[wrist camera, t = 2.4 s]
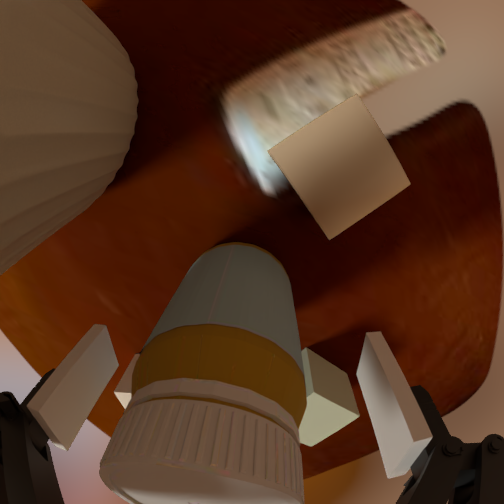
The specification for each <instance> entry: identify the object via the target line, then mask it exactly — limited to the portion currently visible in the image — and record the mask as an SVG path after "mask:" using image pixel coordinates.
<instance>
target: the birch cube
mask: <svg viewBox="0 0 504 504" xmlns="http://www.w3.org/2000/svg"><path fill="white" fill-rule="evenodd" d="M267 152H268V153H269V155H270V156H271V157H272V159H273V160H274V162H275V163H276V164H277V166H278V167H279V168H280V170H281V171H282V173H283V174H284V175H285V177H286V178H287V180H288V181H289V182H290V184H291V185H292V187H293V188H294V190H295V191H296V192H297V194H298V195H299V197H300V198H301V200H302V201H303V203H304V204H305V206H306V207H307V209H308V210H309V212H310V213H311V215H312V216H313V218H314V219H315V220H316V222H317V223H318V225H319V226H320V227H321V229H322V230H323V232H324V233H325V235H326V236H327V238H328V239H329V240H331V239H332V238H334V237H335V236H337V235H338V234H340V233H341V232H342V231H344V230H345V229H347V228H348V227H350V226H351V225H353V224H354V223H356V222H357V221H359V220H360V219H362V218H363V217H365V216H366V215H368V214H369V213H370V212H372V211H373V210H375V209H376V208H378V207H379V206H381V205H382V204H383V203H385V202H386V201H388V200H389V199H391V198H392V197H394V196H395V195H396V194H398V193H399V192H401V191H402V190H403V189H405V188H406V187H408V186H409V185H411V183H410V181H409V179H408V178H407V176H406V174H405V172H404V170H403V168H402V166H401V164H400V162H399V161H398V159H397V157H396V155H395V153H394V152H393V150H392V148H391V146H390V145H389V143H388V141H387V139H386V138H385V136H384V134H383V133H382V131H381V130H380V128H379V127H378V125H377V123H376V122H375V120H374V118H373V117H372V115H371V114H370V112H369V111H368V109H367V108H366V106H365V105H364V103H363V102H362V100H361V99H360V97H359V96H358V95H357V94H355V95H354V96H352V97H350V98H349V99H347V100H345V101H344V102H342V103H340V104H339V105H337V106H336V107H334V108H332V109H331V110H329V111H327V112H326V113H324V114H323V115H321V116H319V117H318V118H316V119H315V120H313V121H312V122H310V123H309V124H307V125H305V126H304V127H302V128H301V129H299V130H298V131H296V132H295V133H293V134H292V135H290V136H289V137H287V138H286V139H284V140H283V141H281V142H280V143H278V144H277V145H275V146H274V147H273V148H271V149H270V150H268V151H267Z"/></svg>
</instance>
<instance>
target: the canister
mask: <svg viewBox="0 0 504 504" xmlns="http://www.w3.org/2000/svg"><path fill="white" fill-rule="evenodd" d="M134 75H135V70H134V67H133V66H132V64H131V63H130V59H129V55H128V53H127V52H126V50H125V49H124V48H123V46H122V45H121V43H120V42H119V40H118V39H117V38H116V36H115V35H114V34H113V33H112V32H111V31H110V30H109V29H108V27H107V26H106V25H105V24H104V23H103V22H102V21H101V20H100V19H99V18H98V17H97V16H96V15H95V14H94V13H93V12H92V10H91V9H90V8H88V7H87V6H86V5H85V4H84V3H83V2H82V1H81V0H0V275H1V274H3V273H4V272H5V271H6V270H7V269H9V268H10V267H11V266H12V265H14V264H15V263H16V262H17V261H19V260H20V259H21V258H22V257H24V256H25V255H26V254H27V253H29V252H30V251H31V250H32V249H34V248H35V247H36V246H38V245H39V244H40V243H42V242H43V241H44V240H45V239H47V238H48V237H49V236H51V235H52V234H53V233H55V232H56V231H57V230H59V229H60V228H61V227H63V226H64V225H65V224H67V223H68V222H69V221H71V220H72V219H74V218H75V217H76V216H78V215H79V214H80V213H82V212H83V211H85V210H86V209H87V208H88V207H89V206H90V205H91V204H92V203H93V202H94V201H95V200H96V199H97V198H99V197H100V196H101V195H102V194H103V192H104V191H105V189H106V187H107V186H108V185H109V184H110V183H111V182H112V181H113V180H114V178H115V175H116V172H117V171H118V169H119V168H120V167H121V166H122V165H123V160H124V157H125V155H126V153H127V152H128V151H129V149H130V142H131V139H132V136H133V135H134V133H135V132H134V127H135V122H136V119H137V117H138V116H137V105H138V102H139V99H138V96H137V88H138V84H137V81H136V80H135V76H134Z"/></svg>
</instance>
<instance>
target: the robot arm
mask: <svg viewBox="0 0 504 504" xmlns="http://www.w3.org/2000/svg"><path fill="white" fill-rule="evenodd" d="M118 366H119V364H118V361H117V358H116V355H115V352H114V349H113V346H112V343H111V340H110V337H109V333H108V330H107V327H106V325H99V324H94V325H93V327H92V328H91V329H90V330H89V331H88V332H87V333H86V334H85V336H84V337H83V338H82V339H81V340H80V341H79V342H78V344H77V345H76V346H75V347H74V348H73V349H72V350H71V352H70V353H69V354H68V355H67V356H66V358H65V359H64V360H63V361H62V362H61V363H60V365H59V366H58V367H57V368H56V369H52V370H50V371H49V372H47V373H46V374H45V375H44V376H43V377H42V378H41V380H40V382H38V383H37V385H36V387H34V388H33V389H32V391H31V392H30V393H29V394H28V396H27V397H26V398H25V399H24V401H23V402H22V403H21V404H19V403H18V401H17V400H16V398H15V397H14V395H13V394H12V393H11V392H2V393H0V504H64V501H63V498H62V494H61V491H60V488H59V484H58V481H57V477H56V473H55V470H54V465H53V462H52V457H51V452H50V447H49V445H48V444H47V441H48V439H50V440H51V441H52V443H53V444H54V445H55V446H56V447H59V448H61V449H63V450H65V451H68V450H69V448H70V446H71V444H72V442H73V441H74V439H75V437H76V435H77V434H78V432H79V430H80V428H81V427H82V425H83V423H84V421H85V420H86V418H87V416H88V415H89V413H90V411H91V410H92V408H93V406H94V405H95V403H96V401H97V400H98V398H99V396H100V395H101V393H102V392H103V390H104V388H105V387H106V385H107V383H108V382H109V380H110V379H111V377H112V375H113V374H114V372H115V371H116V369H117V367H118ZM356 375H357V378H358V381H359V384H360V387H361V390H362V393H363V396H364V399H365V402H366V405H367V408H368V412H369V415H370V418H371V421H372V425H373V428H374V431H375V435H376V438H377V442H378V445H379V448H380V452H381V456H382V459H383V463H384V466H385V470H386V474H387V477H388V478H393V477H397V476H401V475H405V474H406V473H407V471H408V470H409V469H410V468H411V470H412V473H413V475H412V476H411V477H410V478H409V480H408V481H407V482H406V483H405V484H404V486H406V487H405V489H404V490H403V492H402V494H401V495H400V497H399V499H398V500H397V502H396V504H446V503H447V501H448V504H504V438H503V437H501V436H500V435H497V434H491V435H488V436H487V437H485V439H484V440H483V441H482V442H481V443H463V442H462V441H461V440H460V439H459V438H457V437H453V436H451V435H450V434H449V432H448V430H447V428H446V426H445V424H444V422H443V420H442V418H441V416H440V414H439V412H438V410H436V406H435V404H434V403H433V400H432V398H431V396H430V395H429V393H428V392H427V391H426V390H425V389H424V388H423V387H422V386H420V385H419V386H414V387H409V385H408V383H407V381H406V379H405V377H404V375H403V373H402V371H401V369H400V367H399V365H398V363H397V361H396V359H395V357H394V355H393V354H392V352H391V350H390V348H389V346H388V344H387V342H386V341H385V339H384V337H383V335H382V333H381V331H380V332H366V336H365V340H364V345H363V349H362V354H361V358H360V362H359V366H358V370H357V374H356ZM448 499H449V500H448Z"/></svg>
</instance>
